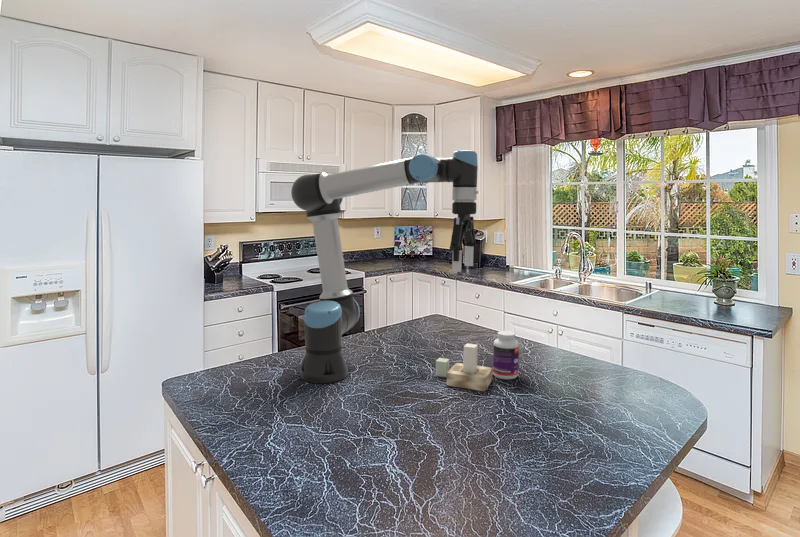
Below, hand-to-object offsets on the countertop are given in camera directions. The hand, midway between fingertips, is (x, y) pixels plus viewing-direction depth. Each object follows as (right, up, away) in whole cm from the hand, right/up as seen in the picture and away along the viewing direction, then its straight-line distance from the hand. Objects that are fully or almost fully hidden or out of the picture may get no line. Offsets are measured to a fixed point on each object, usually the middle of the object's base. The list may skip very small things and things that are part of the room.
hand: (463, 268), depth 154 cm
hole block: (+2, -36, -3) cm, 36 cm away
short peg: (-6, -35, +4) cm, 35 cm away
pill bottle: (+14, -35, +2) cm, 38 cm away
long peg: (+2, -36, -3) cm, 36 cm away
